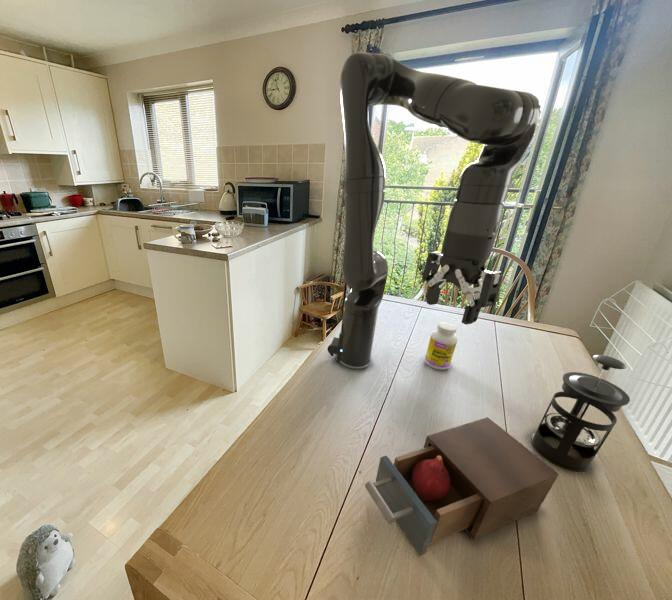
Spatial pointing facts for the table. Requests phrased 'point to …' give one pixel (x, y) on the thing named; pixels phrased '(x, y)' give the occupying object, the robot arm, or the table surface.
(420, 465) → the red round piece
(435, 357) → the supplement bottle
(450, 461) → the cabinet
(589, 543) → the table surface
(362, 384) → the table surface
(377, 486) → the drawer
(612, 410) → the french press
